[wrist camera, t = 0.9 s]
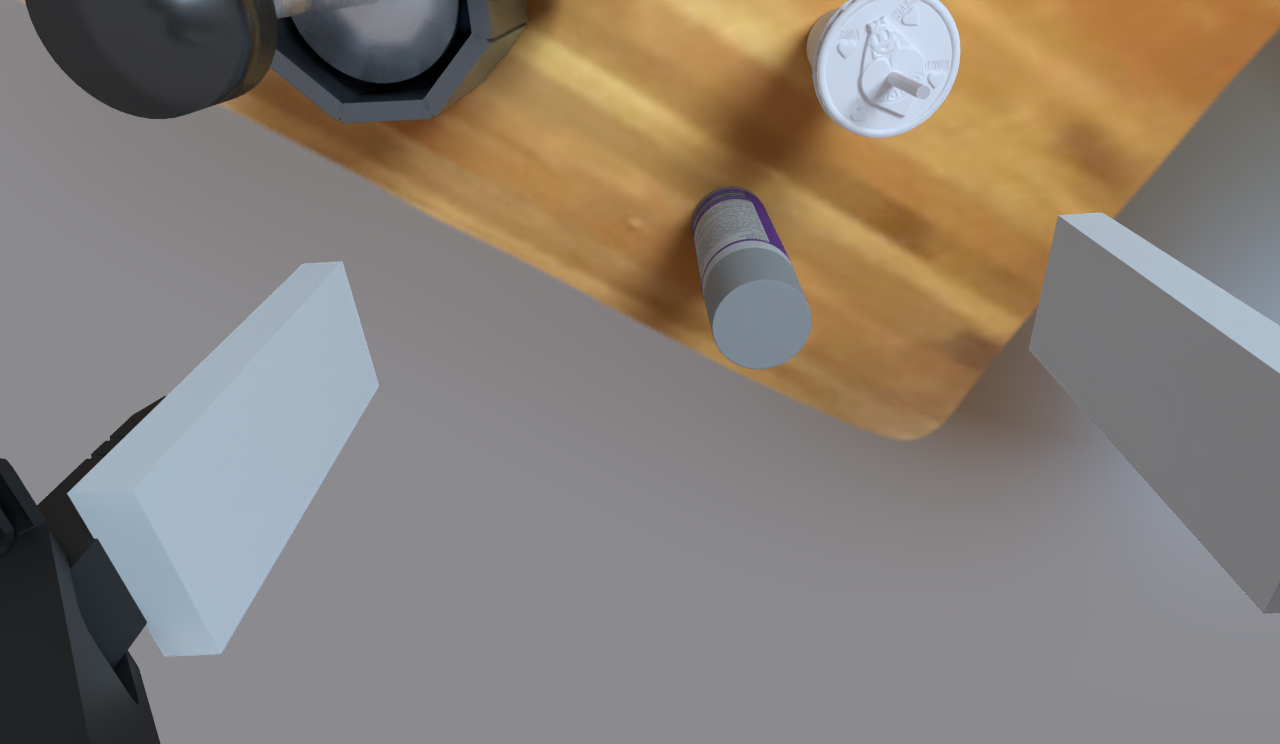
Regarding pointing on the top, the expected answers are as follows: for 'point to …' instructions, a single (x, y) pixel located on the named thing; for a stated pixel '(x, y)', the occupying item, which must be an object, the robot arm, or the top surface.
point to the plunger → (230, 44)
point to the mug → (476, 49)
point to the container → (748, 281)
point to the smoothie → (883, 63)
